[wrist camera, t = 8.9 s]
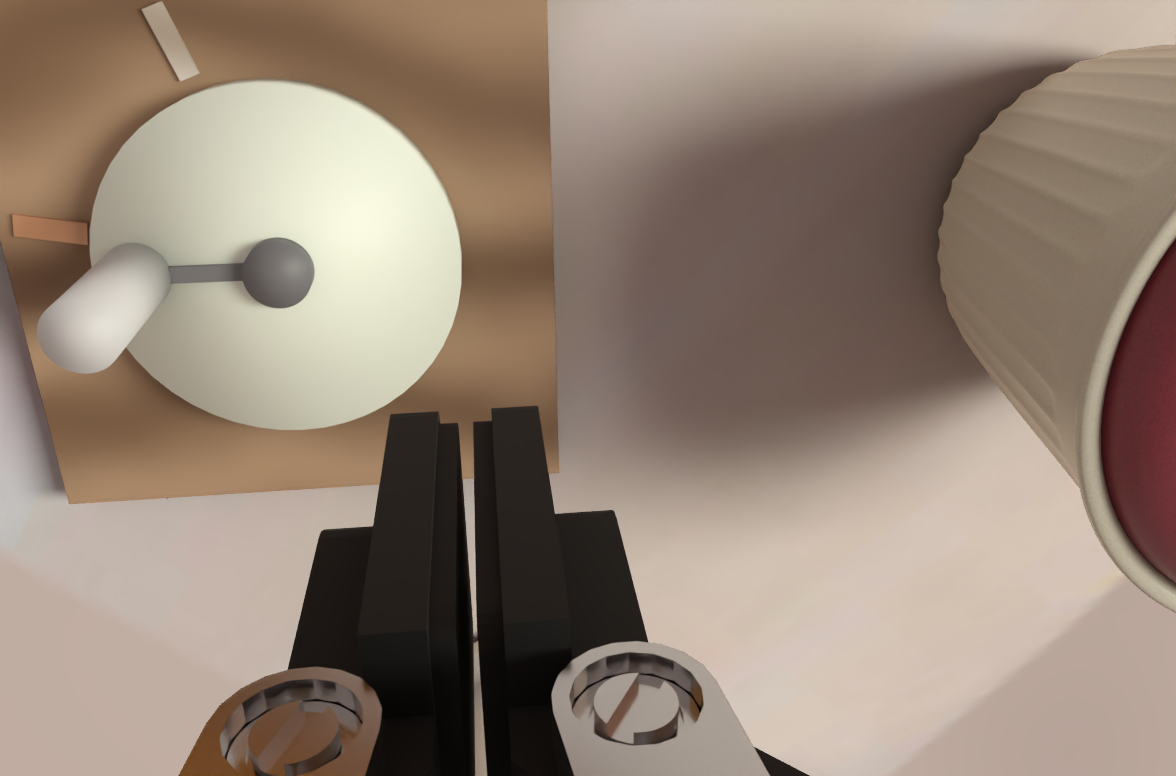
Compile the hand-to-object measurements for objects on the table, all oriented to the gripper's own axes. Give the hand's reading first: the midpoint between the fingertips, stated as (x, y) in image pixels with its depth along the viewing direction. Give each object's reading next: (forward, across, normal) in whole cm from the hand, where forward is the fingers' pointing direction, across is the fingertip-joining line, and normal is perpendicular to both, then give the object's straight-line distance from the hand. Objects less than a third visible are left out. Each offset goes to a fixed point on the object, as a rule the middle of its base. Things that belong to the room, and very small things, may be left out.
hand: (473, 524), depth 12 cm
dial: (+28, +7, +5) cm, 29 cm away
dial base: (+29, +7, +5) cm, 30 cm away
